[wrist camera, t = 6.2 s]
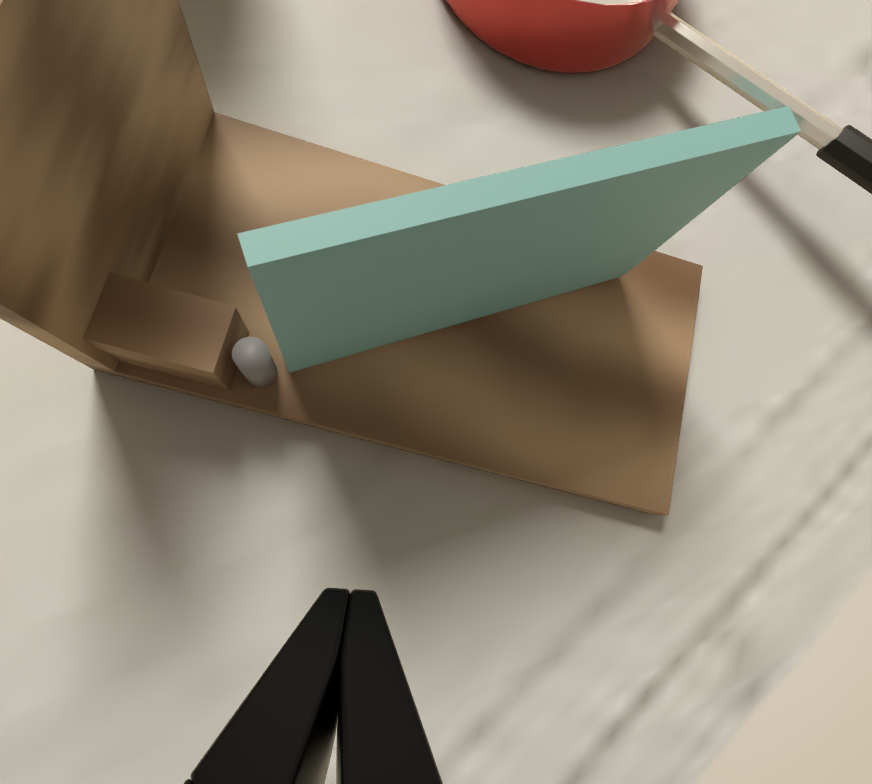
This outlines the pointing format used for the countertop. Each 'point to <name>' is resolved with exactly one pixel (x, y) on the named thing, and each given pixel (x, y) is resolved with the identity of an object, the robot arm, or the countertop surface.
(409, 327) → the door
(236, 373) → the cabinet base
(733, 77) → the frying pan
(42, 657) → the countertop surface
